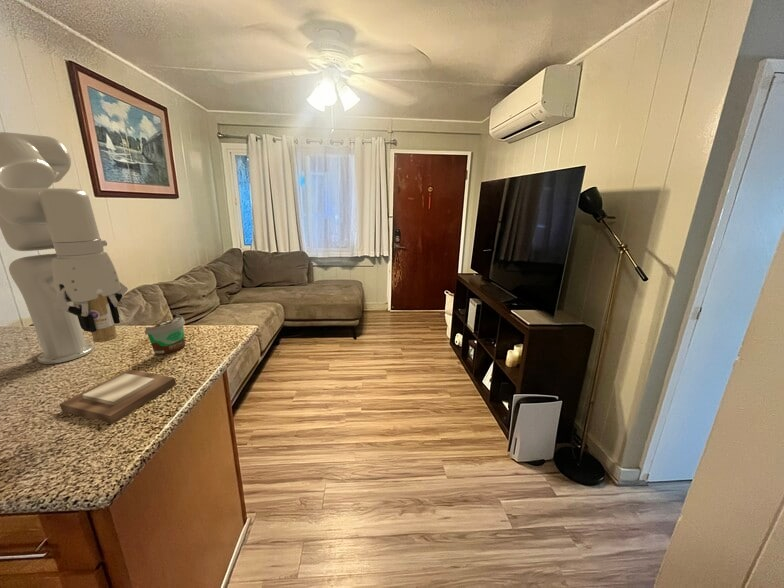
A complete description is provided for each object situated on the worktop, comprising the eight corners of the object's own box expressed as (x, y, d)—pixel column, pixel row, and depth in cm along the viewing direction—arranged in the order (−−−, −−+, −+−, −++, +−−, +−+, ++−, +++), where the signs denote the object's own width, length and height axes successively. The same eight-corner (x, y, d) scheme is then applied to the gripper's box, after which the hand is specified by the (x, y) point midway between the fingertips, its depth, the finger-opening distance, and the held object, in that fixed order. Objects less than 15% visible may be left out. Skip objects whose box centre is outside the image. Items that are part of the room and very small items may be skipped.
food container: (167, 359, 99) (160, 329, 96) (151, 357, 101) (143, 327, 98) (198, 342, 111) (192, 314, 108) (183, 340, 112) (177, 313, 109)
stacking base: (62, 411, 76) (58, 400, 75) (131, 375, 91) (128, 366, 90) (112, 423, 72) (108, 412, 71) (176, 384, 86) (173, 374, 86)
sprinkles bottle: (91, 345, 73) (73, 288, 69) (95, 337, 77) (79, 283, 73) (117, 340, 76) (101, 285, 72) (120, 333, 79) (105, 280, 75)
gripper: (108, 242, 79) (127, 313, 84) (16, 254, 63) (46, 340, 69) (132, 243, 77) (149, 315, 82) (42, 256, 61) (71, 344, 67)
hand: (102, 326), depth 75 cm, fingers closed on sprinkles bottle, 4 cm apart
